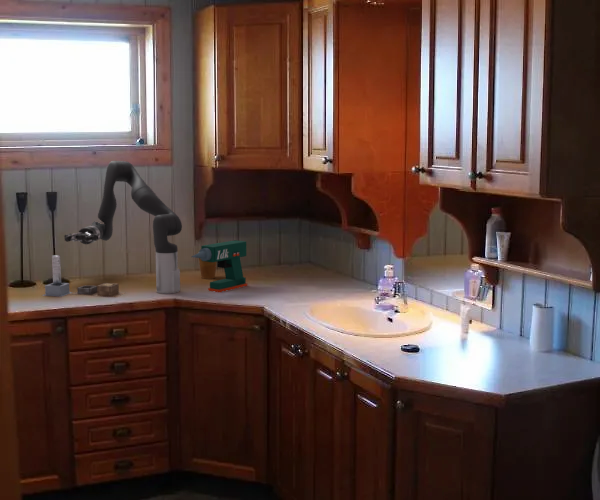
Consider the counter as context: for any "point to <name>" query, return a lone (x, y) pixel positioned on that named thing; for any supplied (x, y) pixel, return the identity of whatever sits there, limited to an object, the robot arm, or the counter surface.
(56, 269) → the pale grey rod
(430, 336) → the counter surface
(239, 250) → the power tool
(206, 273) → the disposable coffee cup
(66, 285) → the gray square socket
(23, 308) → the counter surface
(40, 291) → the counter surface
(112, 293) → the socket block
